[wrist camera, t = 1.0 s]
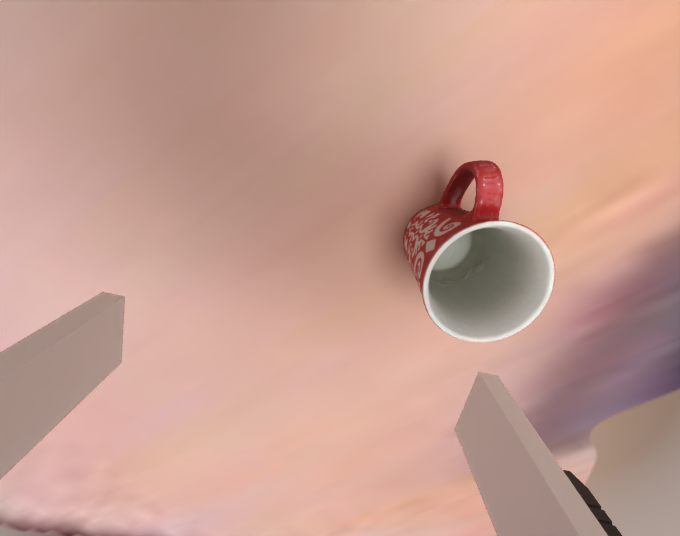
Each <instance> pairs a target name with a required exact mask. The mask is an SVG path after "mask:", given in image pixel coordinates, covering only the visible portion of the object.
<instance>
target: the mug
mask: <svg viewBox="0 0 680 536" xmlns="http://www.w3.org/2000/svg"><path fill="white" fill-rule="evenodd" d="M474 177H475V181H476V198H475V205H474V208H473V210H472V211H470V212H469V211H465V210H462V209H461V208H460V203H461V199H462V197H463V195H464V193H465V191H466V190H467V188H468V186H469V185H470V183H471V182H472V180H473V179H474ZM502 198H503V179H502V174H501V171H500V169H499V168H498V166H497V165H496V164H495V163H493V162H491V161H472V162H467V163H464V164H463V165H461V166H460V167H459V168H458V169H457V170H456V172H455V173H454V174H453V176H452V178H451V179H450V181H449V183H448V185H447V187H446V189H445V191H444V193H443V195H442V198H441V200H440V203H439V205H433V206H430V207H427V208H425V209H423V210H421V211H420V212H418V213H417V214H416V215H415V216H414V217H413V218H412V219H411V221H410V222H409V224H408V225H407V227H406V230H405V233H404V240H403V243H404V250H405V253H406V256H407V258H408V260H409V262H410V265H411V268H412V270H413V272H414V275H415V277H416V280H417V282H418V284H419V287H420V290H421V293H422V297H423V302H424V305H425V308H426V311H427V313H428V315H429V316H430V318H431V319H432V321H433V322H434V323H435V324H436V325H437V326H438V327H439V328H440V329H441V330H443V331H444V332H446V333H447V334H449V335H451V336H453V337H455V338H458V339H461V340H465V341H469V342H491V341H497V340H500V339H504V338H507V337H509V336H511V335H514V334H516V333H518V332H519V331H521V330H523V329H524V328H525V327H527V326H528V325H529V324H530V323H532V322H533V321H534V320H535V319H536V318H537V317H538V315H539V314H540V313H541V312H542V310H543V309H544V307H545V306H546V304H547V302H548V300H549V298H550V296H551V293H552V290H553V287H554V281H555V265H554V259H553V256H552V253H551V251H550V249H549V247H548V245H547V244H546V242H545V241H544V240H543V239H542V238H541V237H540V236H539V235H538V234H537V233H536V232H534V231H533V230H531V229H530V228H528V227H526V226H524V225H521V224H518V223H515V222H510V221H503V220H498V218H499V211H500V207H501V205H502Z"/></svg>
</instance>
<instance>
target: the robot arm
mask: <svg viewBox="0 0 680 536" xmlns="http://www.w3.org/2000/svg"><path fill="white" fill-rule="evenodd" d="M124 304H125V297H124V296H120V295H115V294H110V293H105V292H102V293H100V294H98V295H97V296H95V297H93V298H92V299H90V300H88V301H87V302H85V303H83V304H81V305H80V306H78V307H76V308H75V309H73V310H71V311H70V312H68V313H66V314H65V315H63V316H61V317H60V318H58V319H56V320H54V321H53V322H51V323H49V324H48V325H46V326H44V327H43V328H41V329H39V330H38V331H36V332H34V333H33V334H31V335H29V336H27V337H26V338H24V339H22V340H21V341H19V342H17V343H16V344H14V345H12V346H11V347H9V348H7V349H6V350H4V351H2V352H0V479H1V478H2V477H3V476H5V475H6V474H7V473H8V472H9V471H10V470H11V469H12V468H13V467H14V466H15V465H16V464H17V463H18V462H19V461H20V460H21V459H22V458H23V457H24V456H25V455H26V454H27V453H28V452H29V451H30V450H31V449H33V448H34V447H35V446H36V445H37V444H38V443H39V442H40V441H41V440H42V439H43V438H44V437H45V436H46V435H47V434H48V433H49V432H50V431H51V430H52V429H53V428H54V427H55V426H56V425H57V424H58V423H59V422H61V421H62V420H63V419H64V418H65V417H66V416H67V415H68V414H69V413H70V412H71V411H72V410H73V409H74V408H75V407H76V406H77V405H78V404H79V403H80V402H81V401H82V400H83V399H84V398H85V397H86V396H87V395H89V394H90V393H91V392H92V391H93V390H94V389H95V388H96V387H97V386H98V385H99V384H100V383H101V382H102V381H103V380H104V379H105V378H106V377H107V376H108V375H109V374H110V373H111V372H112V371H113V370H114V369H116V368H117V367H118V366H119V365H120V364H121V362H122V343H123V324H124ZM455 432H456V434H457V437H458V439H459V442H460V444H461V447H462V449H463V452H464V454H465V457H466V459H467V462H468V464H469V467H470V469H471V472H472V474H473V477H474V479H475V482H476V484H477V487H478V489H479V491H480V494H481V496H482V499H483V501H484V504H485V506H486V509H487V511H488V514H489V516H490V519H491V521H492V524H493V526H494V529H495V531H496V534H497V536H622V535H621V533H620V532H619V531H618V529H617V528H616V527H615V526H613V525H612V521H611V520H610V518H609V517H608V516H607V514H606V513H605V511H604V510H601V506H600V504H599V503H598V502H597V500H596V499H595V498H594V496H593V495H592V493H591V492H590V491H589V489H588V488H587V487H586V486H585V485H584V484H583V483H582V482H581V481H580V480H578V479H577V478H576V477H575V476H574V475H573V474H572V473H571V472H570V471H566V470H562V468H561V467H560V465H559V464H558V462H557V461H556V460H555V458H554V457H553V455H552V454H551V452H550V451H549V449H548V448H547V446H546V445H545V444H544V442H543V441H542V439H541V438H540V436H539V435H538V433H537V432H536V431H535V429H534V428H533V426H532V425H531V423H530V422H529V420H528V419H527V417H526V416H525V415H524V413H523V412H522V410H521V409H520V407H519V406H518V404H517V403H516V402H515V400H514V399H513V397H512V396H511V394H510V393H509V391H508V390H507V388H506V387H505V386H504V384H503V383H502V381H501V380H500V378H499V377H498V376H496V375H491V374H487V373H482V372H478V374H477V377H476V379H475V382H474V384H473V386H472V389H471V391H470V394H469V396H468V398H467V401H466V403H465V405H464V408H463V410H462V413H461V415H460V417H459V420H458V422H457V425H456V427H455Z"/></svg>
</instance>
